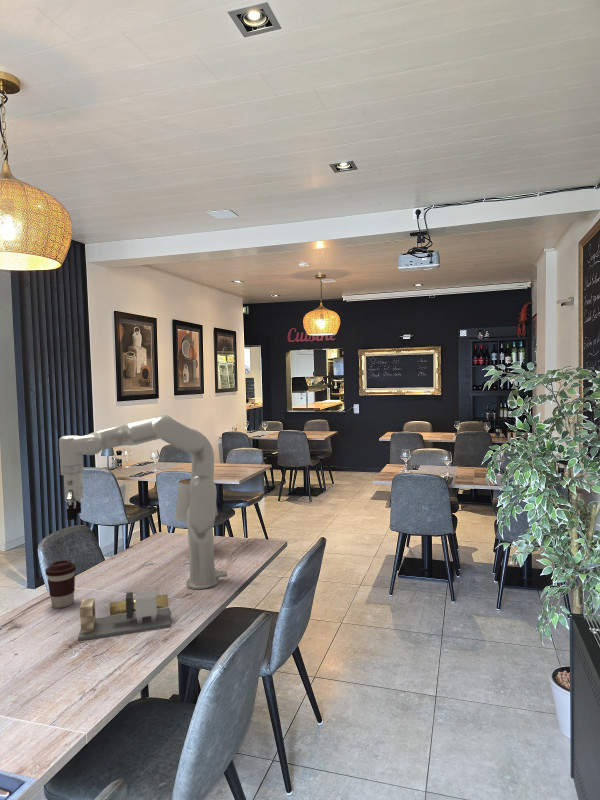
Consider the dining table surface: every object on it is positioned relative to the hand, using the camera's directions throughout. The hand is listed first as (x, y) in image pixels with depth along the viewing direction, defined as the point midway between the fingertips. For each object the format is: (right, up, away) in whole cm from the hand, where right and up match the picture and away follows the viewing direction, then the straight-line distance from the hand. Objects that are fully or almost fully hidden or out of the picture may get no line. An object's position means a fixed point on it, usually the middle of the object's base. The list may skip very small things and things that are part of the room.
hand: (74, 516), depth 195 cm
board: (+26, -31, -21) cm, 45 cm away
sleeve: (+32, -30, -19) cm, 48 cm away
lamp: (+36, -28, +48) cm, 66 cm away
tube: (+30, -27, -20) cm, 45 cm away
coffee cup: (-3, -31, -2) cm, 32 cm away
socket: (+15, -31, -24) cm, 42 cm away
